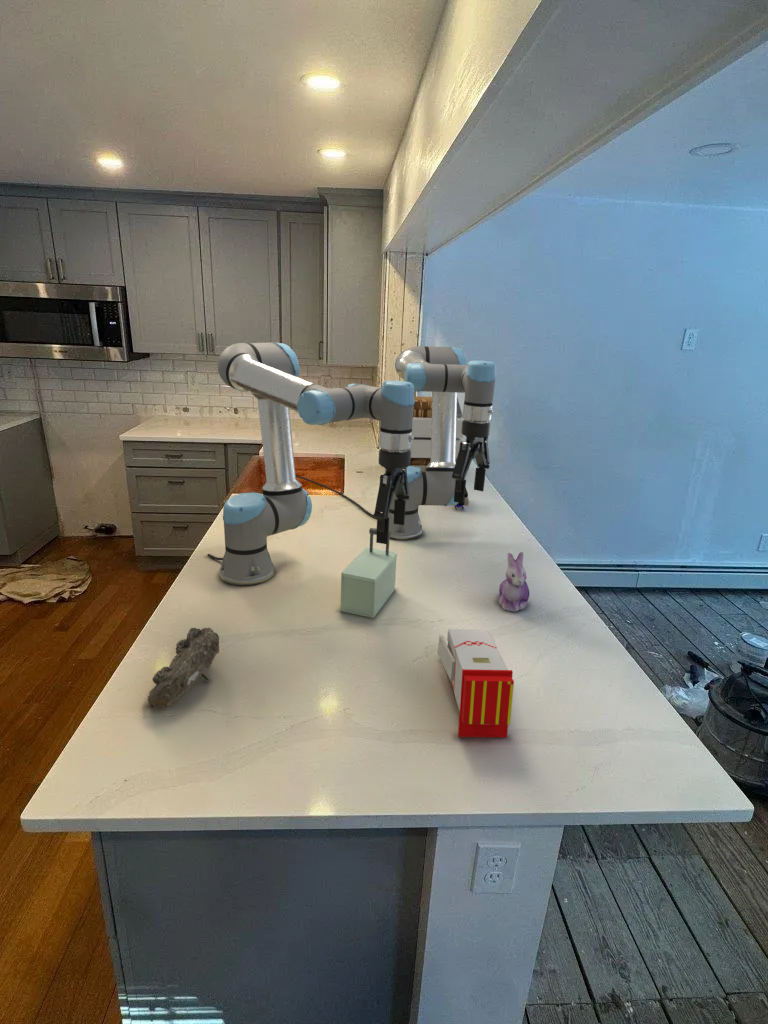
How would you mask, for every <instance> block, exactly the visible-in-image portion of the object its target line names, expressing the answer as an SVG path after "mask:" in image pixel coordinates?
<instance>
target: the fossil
mask: <svg viewBox="0 0 768 1024" xmlns="http://www.w3.org/2000/svg"><path fill="white" fill-rule="evenodd" d="M219 653H220V635H219V634H218V633H217V632H214V630H213V629H212V628H211V627H204V628H201V629H200V628H196V627H191V628H189V630H188V632H187V633H186V638H184V639H180V640H178V642H177V643H176V644H175V654H176V655H175V656H174V658H172V661H170V664H169V666H162V667H161V669H159V670H158V671H157V672H156V673H154V675H153V677H152V679H151V681H152V682H153V683H154V684H155V686H154V687H153V688H152V689H151V690H149V692H148V694H149V695H148V696H147V703H148V705H149V706H152V707H154V708H156V709H158V708H162V707H166V706H168V707H169V706H171V705H173V703H174V702H175V701H176V700H178V699H179V698H180V697H181V696H183V695H184V694H185V693H186V692H187V691H188V690H189V689H190V688H191V687H193V685H194V684H195V682H196V680H197V679H199V678H200V677H202V678H203V680H205V681H206V682H208V681H209V678H208V677H207V675H205V674H204V673H203V672H204V671H205V670H206V669H208V668H210V666H211V665H212V664H213V661H214V659H215V658H216V656H217V655H218V654H219Z"/></svg>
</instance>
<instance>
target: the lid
mask: <svg viewBox="0 0 768 1024" xmlns="http://www.w3.org/2000/svg"><path fill="white" fill-rule="evenodd" d="M368 534H369V547H367V546H366V547H365V548H364V549H363V550H362V551H361V552H360V553H359V554H358V555H357V556H356V557H355V558H354V559H353V560H352V561H351V563H349V565H348V566H346V567H345V568H344V570H342V571H341V573H340V575H341V576H343V577H348V578H353V579H357V580H362V581H367V582H372V583H375V582H376V581H377V580H378V579H379V578H380V576H381V575H382V574H383V573H384V572H385V570H386V569H387V568H388V567H389V566H390V564H391V563H392V562H393V561H394V560H395V558H396V557H397V558H398V552H394V551H390V538H389V537H390V535H391V532H390V531H389V535H388V544H385V550H383V549H377V548H374V535H375V536H377V528H374V527H370V528H369V531H368ZM397 558H396V559H397Z"/></svg>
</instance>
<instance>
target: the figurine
mask: <svg viewBox="0 0 768 1024" xmlns="http://www.w3.org/2000/svg"><path fill="white" fill-rule="evenodd" d="M506 556H507V569H506V571H505V579H504V580H502V581H501V583H500V585H499V591H498V592H499V593H498V597H497V598H498V600H497V601H498V604H499V605H500V606H501V607H502V609H503V610H505V611H507V612H508V611H509V612H518V611H520V610H521V611H522V610H524V609H525V608H526V607H527V605H528V601H529V599H530V588H529V585H528V584H527V581H526V580H527V571H526V570H525V567H524V552H523V551H520V552H519V553H518V555H517V557H516V559H515V557H514V556H513V554H512V553H511V552H508V553H507V555H506Z"/></svg>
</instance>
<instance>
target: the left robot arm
mask: <svg viewBox="0 0 768 1024" xmlns="http://www.w3.org/2000/svg"><path fill="white" fill-rule="evenodd" d="M300 371H301V370H300V363H299V359H298V357H297V354H296V353H295V351H294V350H293V349H292V348H291V347H290V345H288V344H285V343H282V342H275V341H273V342H272V341H270V342H238V343H233V344H231V345H229V346H227V347H226V348H225V349H224V350H223V351H222V352H221V353H220V354H219V358H218V360H217V372H218V375H219V377H220V379H221V380H222V381H223V383H224V384H226V385H227V386H228V387H230V388H231V389H234V390H236V391H238V392H245V393H246V392H251V395H252V396H254V397H255V398H256V400H257V407H258V417H259V427H260V433H261V434H260V436H261V445H262V453H263V461H264V471H265V479H266V481H265V483H264V484H263V486H262V487H261V491H262V493H260V492H254V491H253V492H243V493H238V494H235V495H233V496H231V497H230V498H228V499H227V500H226V501H225V502H224V504H223V511H222V520H223V531H224V547H225V548H224V554H223V557H217V556H214V555H212V554H210V553H207V557H209V558H211V559H213V560H216V561H221V564H220V567H219V574H220V579H221V580H222V581H223V582H225V583H227V584H230V585H233V586H254V585H259V584H262V583H265V582H267V581H269V580H270V579H272V578H273V576H274V574H275V565H274V563H273V561H272V558H271V555H270V553H269V550H268V537H269V536H274V535H277V534H280V533H284V532H286V531H290V530H295V529H297V528H300V527H302V526H304V525H305V524H307V523H308V521H309V520H310V518H311V515H312V511H313V504H312V502H313V501H312V499H311V496H309V492H308V491H307V490H306V489H305V488H303V484H302V483H301V482H300V481H299V480H298V479H297V476H296V475H297V474H296V466H295V454H294V445H293V436H292V435H293V434H292V424H291V413H290V412H291V411H290V410H292V411H294V412H297V413H298V416H299V417H300V418H301V420H302V421H303V422H304V423H305V424H307V425H309V426H314V425H315V426H317V425H318V426H323V425H327V424H332V423H338V422H345V421H351V420H352V421H353V420H359V419H371V420H374V421H379V438H378V441H379V442H378V447H379V450H378V464H379V466H381V467H383V468H384V469H385V471H384V473H383V474H380V476H379V487H378V491H377V497H376V502H375V508H374V513H372V515H373V517H372V518H374V517H376V518H377V519H376V518H375V519H376V529H377V535H376V539H375V540H376V541H375V543H377V544H382V545H386V544H388V535H389V517H388V514H389V510H390V506H391V502H392V498H393V495H394V493H395V495H396V498H398V499H395V505H394V524H398V525H404V523H405V505H406V500H409V496H408V494H409V490H408V480H407V467H408V466H410V461H411V451H410V450H409V449H410V448H411V441H413V440H414V437H411V436H412V421H413V411H414V404H415V400H414V396H415V391H414V386H413V384H412V383H410V382H406V381H404V380H384V381H383V382H381V383H382V384H381V387H378V386H372V385H367V384H365V383H350V384H348V385H346V386H344V387H332V388H329V387H324V386H322V385H319V384H316V383H314V382H312V381H309V380H306V379H304V378H302V377H299V376H300ZM295 474H296V475H295ZM405 499H406V500H405Z"/></svg>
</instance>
